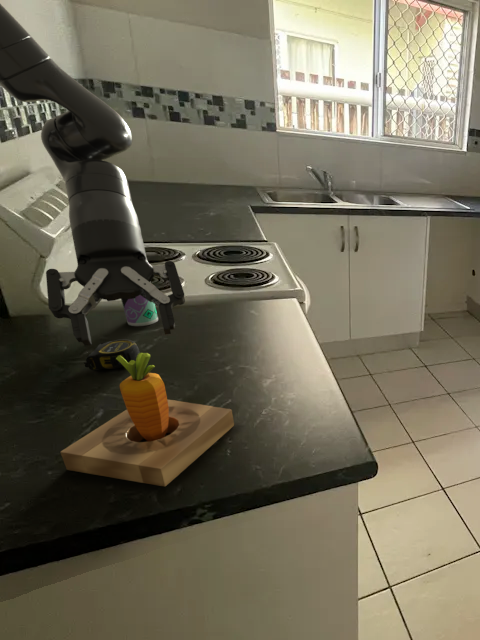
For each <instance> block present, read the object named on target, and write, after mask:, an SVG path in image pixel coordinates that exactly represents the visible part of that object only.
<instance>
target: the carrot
mask: <svg viewBox="0 0 480 640" xmlns="http://www.w3.org/2000/svg"><path fill="white" fill-rule="evenodd" d="M116 359H117V360H118V361H119V362H120V363H121V364H122V365H123V366H124V367H123V368H124V369H125V370H126V371H127V372H128V373H129V375H130V376H128V377H126V378H125V379H124V380H122V381H121V382H120V383H119V390H120V393H121V397H122V400H123V403H124V406H125V408H126V410H127V411H128V413H129V415H130V417H131V419H132V421H133V423H134V425H135V427H136V428H137V430H138V431H139V433H140V434H141V435H142V436H143V438H144V439H143V440H145V441H146V442H151V441H154V440H158V439H161V438H164V437H166V436H167V433H166V432H167V428H168V419H169V407H168V401H167V399H168V395H167V391H166V385H165V382H164V381H163V379H162V377H161V376H160V374H158V373H155V372H151V371H152V370H153V369H154V368H155V367H156V366H155V365H154V364H150V365H149V361H150V359H151V354H150V353H148V352H139V354H138V355H137V358H136V361H134V360H131V361H130V362H129V363H128V362H127V361H126V360H125V359H124V358H123V357H122V356H118V357H117V358H116Z"/></svg>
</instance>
